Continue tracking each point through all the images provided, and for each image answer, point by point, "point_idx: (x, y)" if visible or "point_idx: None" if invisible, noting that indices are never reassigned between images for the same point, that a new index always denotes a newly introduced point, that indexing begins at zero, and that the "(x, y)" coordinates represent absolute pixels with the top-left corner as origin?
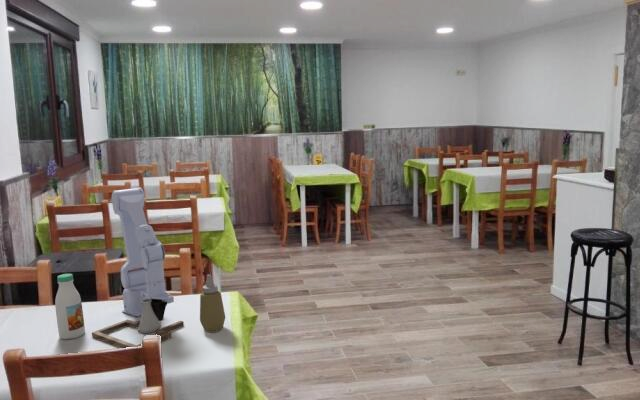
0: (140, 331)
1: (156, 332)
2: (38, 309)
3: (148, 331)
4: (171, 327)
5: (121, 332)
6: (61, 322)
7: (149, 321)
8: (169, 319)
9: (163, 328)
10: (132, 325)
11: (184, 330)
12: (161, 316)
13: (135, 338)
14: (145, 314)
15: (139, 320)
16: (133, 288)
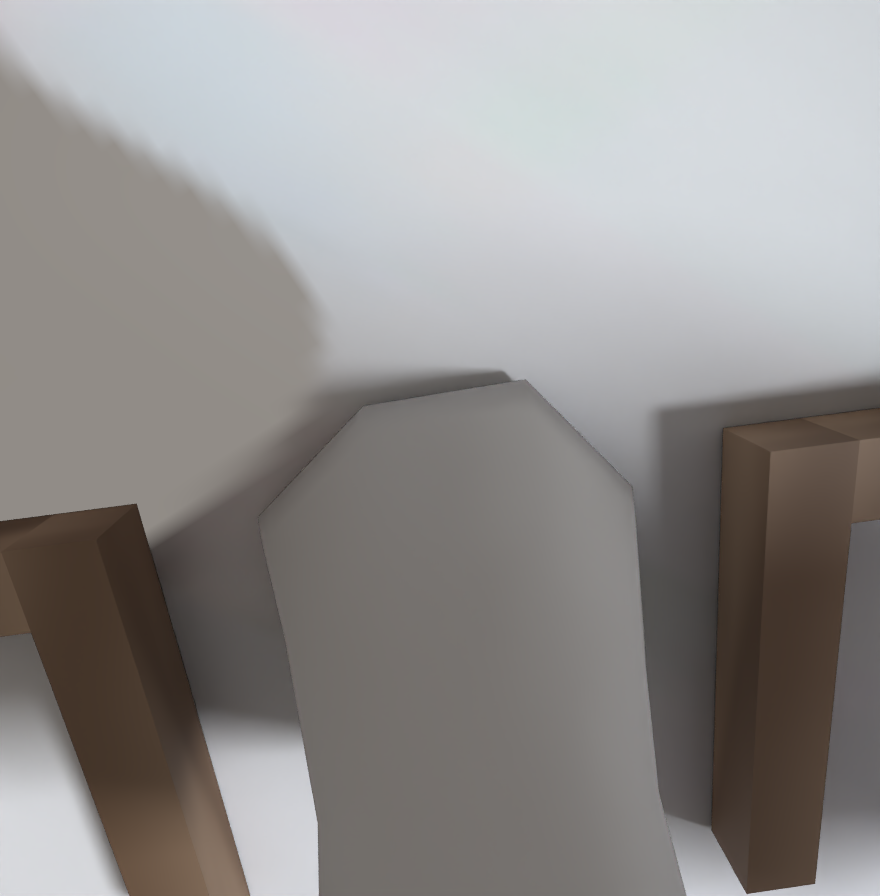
0: (448, 398)
1: (73, 534)
2: None
3: (306, 483)
4: (100, 784)
5: (793, 178)
6: None
7: (302, 627)
8: None
9: (103, 684)
10: (813, 433)
11: (10, 846)
12: None
13: (287, 199)
14: (398, 717)
15: (841, 599)
16: None
